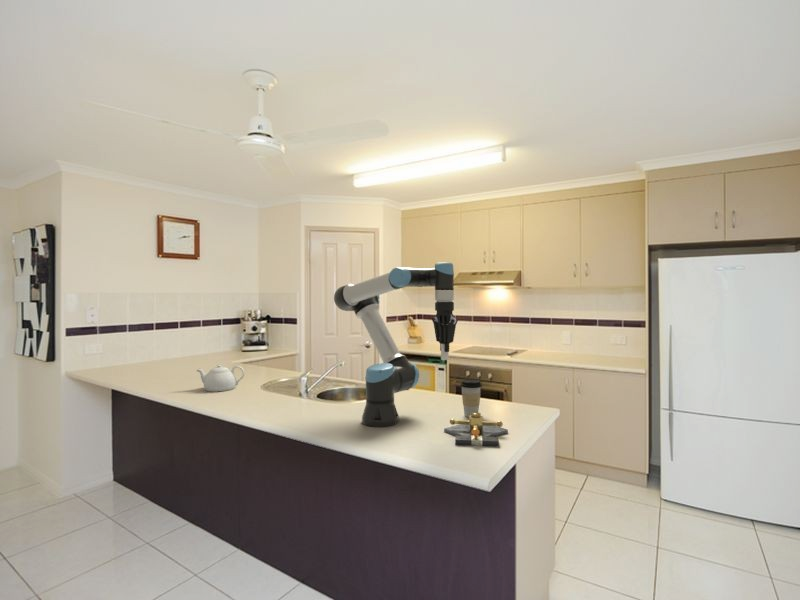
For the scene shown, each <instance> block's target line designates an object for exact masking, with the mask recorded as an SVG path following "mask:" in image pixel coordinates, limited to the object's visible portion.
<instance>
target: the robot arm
mask: <svg viewBox="0 0 800 600" xmlns="http://www.w3.org/2000/svg"><path fill="white" fill-rule="evenodd" d="M454 271H455V270H454V264H453V263H452V262H436V263H435V264H434V267H433V268H431V267H430V268H428V267H427V268H426V267H425V268H424V267H423V268H421V267H419V268H418V267H406V266H405V267H404V266H398V267H394V268H392V269H391V271H390V272H386V273H385V274H381V275H379V276H376V277H372V278H370V279H367V280H364V281H362V282H361V281H360V282H358V283H355V284H353V283H349V284H345V285H343V286H342V285H341V286H339V288H337V289H336V291H335V292H334V294H333V300H334V301H333V302H334V304H335V306H336V307H337V308H338V309H340V310H342V311H345V312H354V314H355V316H356V318H358V319H360V320H361V321H362V323H363V324H364V327H365V329H366V330H367V333H368V334H369V337H370V339H371V340H372V342H373V345H374V346H375V348H376V351H377V353H378V354H379V356H380V359H381V361H382V363H381V362H380V363H376V364H372V365H369V366H368V367H367V368H366V371H365V407H364V409H363V413H362V415H361V416H362V417H361V422H362V424H363V425H364V426H368V427H375V428H383V427H391V426H393V425H397V424H398V423H399V414H398V411H397V407H396V404H395V394H397V393H400V392H404V391H409V390H410V389H413V388H415V387H416V386H417V384H418V383H419V378H420V372H419V368H418V366H417V365H416V363H414V362H411V361H409V360H408V358H407V356H406V355H405V354H402V353H401V352H400V351H399V348H398V347H397V345H396V343H395V341H394V338H393V337H392V334H391V333H390V331H389V329H388V327H387V326H386V323H385V322H384V319H383V317H382V315H381V314H380V312H379V309H380V305H379V304H380V295H383V294H387V293H390V292H394V291H396V290H400V289H404V288H407V287H408V288H409V287H414V288H415V287H417V288H423V287H425V288H426V287H429V288H430V287H434V300H435V302H434V310H435V311H436V314H435V317H432V318H431V321H432V323H433V328H434V335H435V340H436V342H438V343H439V350H440V360H441V361H448V360H450V359H449V353H450V344H451V343H453V342H454V339H455V333H456V326H457V324H458V321H459V320H458V318H455V317H454V314H453V311H454V310H455V302H454V300H455V296H454V295H455V294H454V293H455V290H454V283H455V281H454V280H455V279H454V278H455V277H454V276H455V273H454Z"/></svg>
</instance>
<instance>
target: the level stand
mask: <svg viewBox="0 0 800 600" xmlns="http://www.w3.org/2000/svg"><path fill="white" fill-rule="evenodd" d="M443 431H444V433H447V434H449V435H453V436H454V437H455V441H454V442H455V446H475V447H477V446H478V447H496V446H500V441H499V436H502V435H506V434H508V433H509V430H508V429H506V428H504V427H498V426H485V425H483V431H480V434H479V436H477V437H474V436H472V434H471V431H470V430H469V425H464V424H455V425H452V426H448V427H445V428H444V429H443ZM505 433H506V434H505ZM495 436H496V437H495Z"/></svg>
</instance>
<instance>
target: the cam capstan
mask: <svg viewBox="0 0 800 600" xmlns="http://www.w3.org/2000/svg"><path fill="white" fill-rule="evenodd" d="M503 423H504V422H503V421H501V420H498V421H491V420H490V421H487V420H486V421H485V420H484V416H483V415H482V414H481V412H479V411H478V412H472V413H471V415H470V416H469V417H468V420H466V419H465V420H464V419H462V420H461V419H455V418H451V419H449V424H450V425H452V426H455V425H460V424H464V425H469V430H470V431H471V434H472V436H474V437H477V436H479V434H480V431H483V425H485V426H498V427H501V428H503V425H504V424H503Z"/></svg>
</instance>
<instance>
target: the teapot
mask: <svg viewBox="0 0 800 600" xmlns="http://www.w3.org/2000/svg"><path fill="white" fill-rule="evenodd" d="M236 368H239V369H240V371H241V372H242V375H241V377H240V378H239V379H238V378H237V376H236V374H235V372H234V370H235V369H236ZM196 372H198V373H199V374H200V379H201V382H202V383H203V388H204V390H205V391H206V392H209V391H211V392H210V393H218V391H221V392H226V391H227V392H228V391H231V390H234V389H235V388H236V387H237V386H238V385H239V382H241V380H242V379H243V378H244V377H245V369H244V368H243V367H242V366H240V365H234V366H233V367H232V369H231V368H228V367H225V366H222V364H217V365H216V367H213V368H211V369H210V370H209V371H208V372H207V373H205V371H204V370H203V369H202V368H198V369H196ZM237 379H238V380H237Z"/></svg>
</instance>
